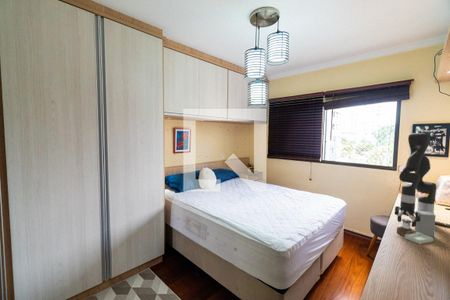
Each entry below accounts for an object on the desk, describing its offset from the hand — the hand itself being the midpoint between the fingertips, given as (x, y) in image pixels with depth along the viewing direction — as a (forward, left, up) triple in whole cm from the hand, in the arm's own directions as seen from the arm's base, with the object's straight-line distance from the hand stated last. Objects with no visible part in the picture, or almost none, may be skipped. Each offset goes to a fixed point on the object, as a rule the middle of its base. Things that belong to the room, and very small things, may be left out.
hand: (406, 224), depth 141 cm
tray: (0, +8, -7) cm, 11 cm away
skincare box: (-12, +3, -8) cm, 15 cm away
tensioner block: (0, 0, -7) cm, 7 cm away
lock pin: (0, 0, -7) cm, 7 cm away
